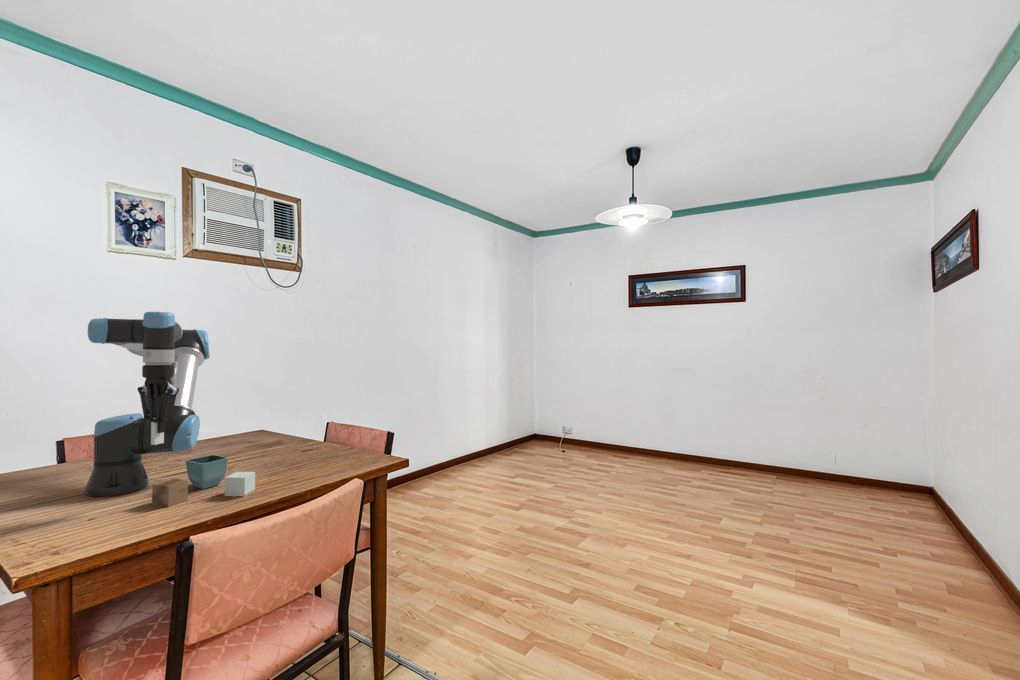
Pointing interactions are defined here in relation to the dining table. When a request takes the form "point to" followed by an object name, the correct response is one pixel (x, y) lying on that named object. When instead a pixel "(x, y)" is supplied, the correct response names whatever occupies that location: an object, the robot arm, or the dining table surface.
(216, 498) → the dining table surface
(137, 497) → the dining table surface
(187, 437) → the robot arm
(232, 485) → the grey-green block
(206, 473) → the flower pot
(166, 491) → the walnut block
